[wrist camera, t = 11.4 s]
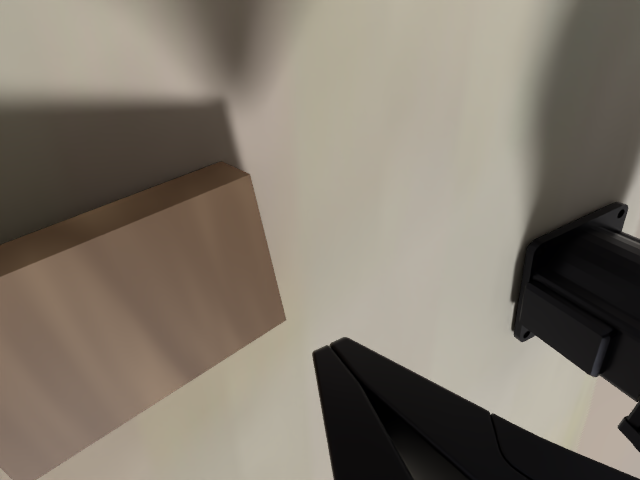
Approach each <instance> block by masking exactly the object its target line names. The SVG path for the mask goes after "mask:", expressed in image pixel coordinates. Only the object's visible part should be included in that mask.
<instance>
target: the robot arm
mask: <svg viewBox="0 0 640 480" xmlns="http://www.w3.org/2000/svg"><path fill="white" fill-rule="evenodd" d="M627 211H628V205H626V204H623V203H620V202H615V203H613V204H611V205H609V206H606V207H604V208H602V209H600V210H598V211H596V212H593V213H591V214H589V215H587V216H585V217H583V218H581V219H578V220H576V221H574V222H572V223H570V224H568V225H565V226H563V227H561V228H559V229H557V230H555V231H553V232H550V233H548V234H546V235H544V236H542V237H540V238H537V239H535V240H534V241H532V242H531V244H530V245H529V246H528V248H527V251H526V257H525V264H524V270H523V277H522V283H521V290H520V296H519V303H518V309H517V316H516V323H515V329H514V337H515V338H517V339H518V340H519V341H521V342H524V341H526V340H528V339H530V338H532V337H534V336H535V335H536V336H537V337H539V338H540V339H541V340H543V341H544V342H545V343H547V344H548V345H549V346H551V347H552V348H553V349H555V350H556V351H557V352H559V353H560V354H562V355H563V356H564V357H566V358H567V359H568V360H570V361H571V362H572V363H574V364H575V365H576V366H578V367H579V368H580V369H582V370H583V371H585V372H586V373H587V374H589V375H591V376H593V377H597V376H599V375H600V376H601V377H603V378H604V379H606V380H607V381H608V382H610V383H611V384H612V385H614V386H615V387H617V388H618V389H619V390H621V391H622V392H624V393H625V394H626V395H628V396H629V397H631V398H632V399H633V400H635V401H636V402H638V401H639V402H638V403H637V405H636V406H635V408H634V409H633V410H632V412H631V413H630V414H629V416H626V417H624V419H623V420H622V421H621V423H620V424H619V425H618V429H619V430H620V431H621V432H622V433H623V434H624V435H625V436H626V437H627V438H628V439H629V440H630V441H631V443H632V444H633V445H634V446H635V448H636V449H637V450H638V451H639V452H640V239H638V238H636V237H633V236H631V235H629V234H626V233H624V232H621V231H622V228H623V225H624V221H625V218H626V215H627ZM312 356H313V362H314V368H315V373H316V379H317V385H318V391H319V397H320V402H321V408H322V414H323V420H324V426H325V431H326V437H327V443H328V449H329V455H330V460H331V466H332V472H333V478H334V480H640V479H638V478H636V477H633V476H631V475H629V474H626V473H624V472H621V471H619V470H617V469H614V468H612V467H609V466H607V465H604V464H602V463H600V462H597V461H595V460H592V459H590V458H587V457H585V456H582V455H580V454H578V453H576V452H573V451H571V450H568V449H566V448H564V447H562V446H559V445H557V444H555V443H552V442H550V441H548V440H546V439H543V438H541V437H539V436H537V435H535V434H533V433H531V432H529V431H527V430H525V429H523V428H521V427H519V426H517V425H515V424H513V423H511V422H509V421H507V420H505V419H503V418H501V417H499V416H497V415H495V414H491V415H490V412H489V411H487V410H485V409H484V408H482V407H480V406H478V405H476V404H474V403H472V402H470V401H468V400H466V399H464V398H462V397H461V396H459V395H457V394H455V393H453V392H451V391H449V390H447V389H445V388H443V387H441V386H440V385H438V384H436V383H434V382H432V381H430V380H428V379H426V378H424V377H422V376H420V375H418V374H417V373H415V372H413V371H411V370H409V369H407V368H405V367H403V366H401V365H399V364H397V363H395V362H394V361H392V360H390V359H388V358H386V357H384V356H382V355H380V354H378V353H376V352H374V351H373V350H371V349H369V348H367V347H365V346H363V345H361V344H359V343H357V342H355V341H353V340H351V339H350V338H347V337H343V338H341V339H339V340H336V341H334V342H332V343H331V344H330V346H328V345H326V346H324V347H322V348H319V349H317V350H315V351H314V352H313V353H312Z"/></svg>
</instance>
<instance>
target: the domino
mask: <svg viewBox="0 0 640 480" xmlns="http://www.w3.org/2000/svg"><path fill="white" fill-rule="evenodd" d="M285 320H286V317H285V313H284V309H283V305H282V301H281V297H280V293H279V289H278V285H277V281H276V277H275V273H274V269H273V265H272V261H271V257H270V253H269V249H268V245H267V241H266V237H265V233H264V229H263V225H262V221H261V217H260V213H259V209H258V205H257V201H256V197H255V193H254V189H253V185H252V181H251V177H250V174H248V173H246V172H244V171H242V170H239V169H237V168H235V167H233V166H231V165H229V164H226V163H224V162H222V161H221V162H218V163H215V164H213V165H210V166H207V167H205V168H202V169H199V170H197V171H194V172H191V173H189V174H186V175H184V176H181V177H178V178H176V179H173V180H170V181H168V182H165V183H162V184H160V185H157V186H154V187H152V188H149V189H147V190H144V191H141V192H139V193H136V194H133V195H131V196H128V197H125V198H123V199H120V200H117V201H115V202H112V203H110V204H107V205H104V206H102V207H99V208H96V209H94V210H91V211H88V212H86V213H83V214H80V215H78V216H75V217H73V218H70V219H67V220H65V221H62V222H59V223H57V224H54V225H51V226H49V227H46V228H43V229H41V230H38V231H36V232H33V233H30V234H28V235H25V236H22V237H20V238H17V239H14V240H12V241H9V242H6V243H4V244H1V245H0V468H1V469H2V470H3V471H4V472H5V473H6V474H7V475H8V476H9V477H10V478H11V479H12V480H36V479H38V478H39V477H41V476H43V475H44V474H46V473H47V472H49V471H50V470H52V469H54V468H55V467H57V466H58V465H60V464H61V463H63V462H65V461H66V460H68V459H69V458H71V457H72V456H74V455H75V454H77V453H79V452H80V451H82V450H83V449H85V448H86V447H88V446H90V445H91V444H93V443H94V442H96V441H97V440H99V439H101V438H102V437H104V436H105V435H107V434H108V433H110V432H111V431H113V430H115V429H116V428H118V427H119V426H121V425H122V424H124V423H126V422H127V421H129V420H130V419H132V418H133V417H135V416H137V415H138V414H140V413H141V412H143V411H144V410H146V409H147V408H149V407H151V406H152V405H154V404H155V403H157V402H158V401H160V400H162V399H163V398H165V397H166V396H168V395H169V394H171V393H173V392H174V391H176V390H177V389H179V388H180V387H182V386H183V385H185V384H187V383H188V382H190V381H191V380H193V379H194V378H196V377H198V376H199V375H201V374H202V373H204V372H205V371H207V370H209V369H210V368H212V367H213V366H215V365H216V364H218V363H219V362H221V361H223V360H224V359H226V358H227V357H229V356H230V355H232V354H234V353H235V352H237V351H238V350H240V349H241V348H243V347H245V346H246V345H248V344H249V343H251V342H252V341H254V340H256V339H257V338H259V337H260V336H262V335H263V334H265V333H266V332H268V331H270V330H271V329H273V328H274V327H276V326H277V325H279V324H281V323H282V322H284V321H285Z"/></svg>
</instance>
